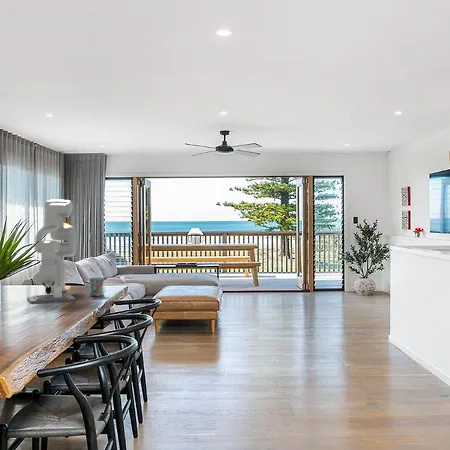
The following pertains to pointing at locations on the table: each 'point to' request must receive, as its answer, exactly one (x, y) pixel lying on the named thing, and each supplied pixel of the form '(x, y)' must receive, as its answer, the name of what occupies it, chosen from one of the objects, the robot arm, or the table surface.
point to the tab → (57, 291)
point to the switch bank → (49, 299)
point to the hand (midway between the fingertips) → (48, 293)
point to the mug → (96, 286)
